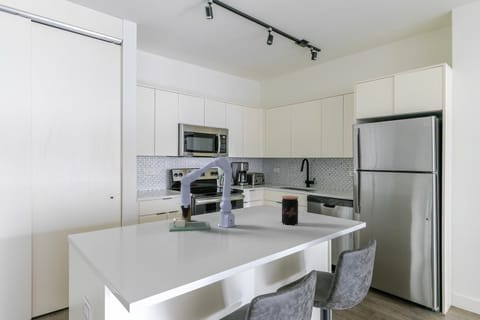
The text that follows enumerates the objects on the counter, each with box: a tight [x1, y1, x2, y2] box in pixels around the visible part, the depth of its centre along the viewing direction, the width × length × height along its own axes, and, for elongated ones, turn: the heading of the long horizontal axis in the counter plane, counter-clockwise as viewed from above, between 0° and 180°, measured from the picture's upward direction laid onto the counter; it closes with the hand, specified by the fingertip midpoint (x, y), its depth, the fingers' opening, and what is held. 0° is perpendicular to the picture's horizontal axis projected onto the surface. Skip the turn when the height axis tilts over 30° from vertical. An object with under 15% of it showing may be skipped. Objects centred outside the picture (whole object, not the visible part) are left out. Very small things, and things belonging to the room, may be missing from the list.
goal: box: [173, 217, 185, 228], centre depth 173 cm, size 6×8×4 cm
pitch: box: [168, 221, 211, 232], centre depth 174 cm, size 24×16×2 cm, turn 104°
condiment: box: [181, 203, 195, 222], centre depth 190 cm, size 7×8×12 cm
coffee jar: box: [281, 195, 299, 226], centre depth 186 cm, size 11×11×18 cm
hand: (185, 217), depth 174 cm, fingers closed on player, 3 cm apart
